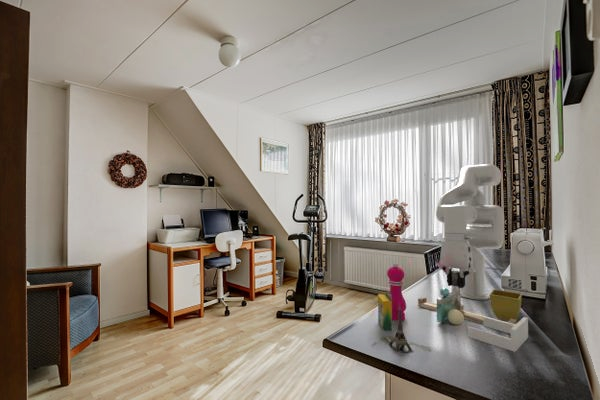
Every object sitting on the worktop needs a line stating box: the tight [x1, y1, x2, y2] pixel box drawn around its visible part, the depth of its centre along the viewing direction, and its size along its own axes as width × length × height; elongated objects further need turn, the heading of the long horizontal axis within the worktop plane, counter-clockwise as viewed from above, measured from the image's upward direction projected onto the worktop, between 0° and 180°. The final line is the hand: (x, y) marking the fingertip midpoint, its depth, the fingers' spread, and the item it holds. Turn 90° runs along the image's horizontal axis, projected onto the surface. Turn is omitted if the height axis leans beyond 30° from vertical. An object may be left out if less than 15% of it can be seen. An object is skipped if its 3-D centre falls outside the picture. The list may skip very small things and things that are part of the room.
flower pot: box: [488, 289, 523, 322], centre depth 103 cm, size 9×9×9 cm
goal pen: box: [467, 315, 529, 353], centre depth 89 cm, size 14×12×6 cm
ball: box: [447, 309, 465, 326], centre depth 98 cm, size 5×5×5 cm
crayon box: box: [377, 289, 393, 332], centre depth 96 cm, size 7×3×12 cm, turn 178°
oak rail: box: [417, 296, 517, 325], centre depth 105 cm, size 4×32×3 cm, turn 39°
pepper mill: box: [386, 262, 407, 322], centre depth 104 cm, size 7×7×20 cm
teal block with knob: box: [436, 269, 465, 324], centre depth 103 cm, size 16×4×15 cm, turn 129°
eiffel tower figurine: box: [370, 306, 433, 354], centre depth 82 cm, size 15×10×13 cm
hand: (455, 286), depth 107 cm, fingers closed on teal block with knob, 3 cm apart
